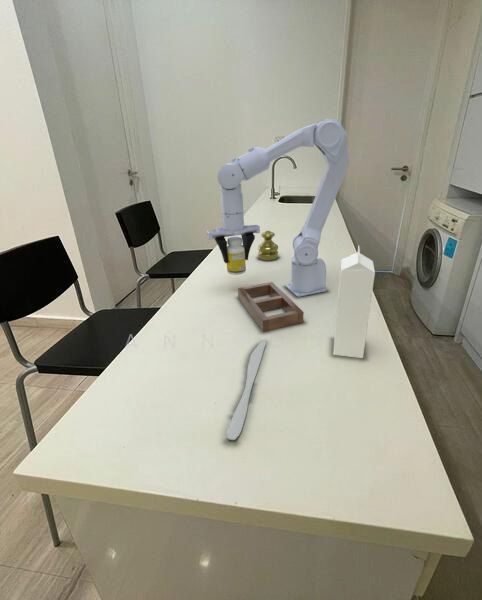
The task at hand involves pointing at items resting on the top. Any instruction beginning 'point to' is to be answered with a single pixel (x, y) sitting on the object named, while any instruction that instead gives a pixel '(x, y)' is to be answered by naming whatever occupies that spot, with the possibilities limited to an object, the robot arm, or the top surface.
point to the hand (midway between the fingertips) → (235, 260)
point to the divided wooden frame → (270, 306)
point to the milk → (353, 305)
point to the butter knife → (245, 393)
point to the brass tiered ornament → (268, 247)
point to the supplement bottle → (235, 256)
